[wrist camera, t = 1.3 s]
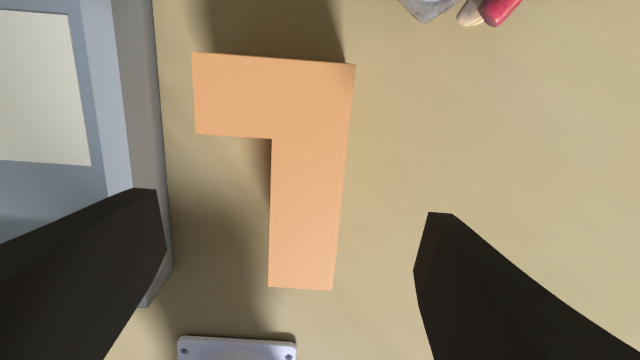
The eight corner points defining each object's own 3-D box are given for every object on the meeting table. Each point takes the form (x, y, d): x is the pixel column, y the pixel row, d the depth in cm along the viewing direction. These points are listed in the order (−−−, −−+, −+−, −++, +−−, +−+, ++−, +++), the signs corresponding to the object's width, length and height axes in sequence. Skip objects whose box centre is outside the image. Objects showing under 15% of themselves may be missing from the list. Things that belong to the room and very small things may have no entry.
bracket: (329, 237, 21) (332, 290, 16) (229, 230, 20) (202, 282, 16) (345, 62, 17) (355, 64, 13) (226, 53, 17) (191, 51, 12)
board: (173, 269, 21) (166, 280, 20) (-88, 252, 21) (-110, 263, 20) (149, -21, 16) (138, -27, 15) (-204, -51, 16) (-241, -58, 15)
